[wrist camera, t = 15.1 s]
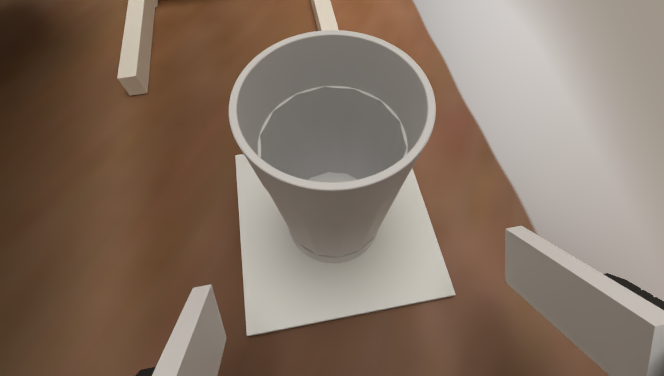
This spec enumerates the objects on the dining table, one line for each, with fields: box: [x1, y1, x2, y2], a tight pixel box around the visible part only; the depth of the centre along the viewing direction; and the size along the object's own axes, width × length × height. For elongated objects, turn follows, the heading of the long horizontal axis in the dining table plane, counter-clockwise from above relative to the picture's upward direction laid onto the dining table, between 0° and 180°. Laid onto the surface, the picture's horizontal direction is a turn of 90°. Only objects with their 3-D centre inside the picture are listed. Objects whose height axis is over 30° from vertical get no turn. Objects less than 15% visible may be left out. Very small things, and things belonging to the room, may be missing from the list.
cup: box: [229, 30, 436, 263], centre depth 19 cm, size 8×8×12 cm
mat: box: [235, 154, 456, 336], centre depth 24 cm, size 13×13×1 cm
